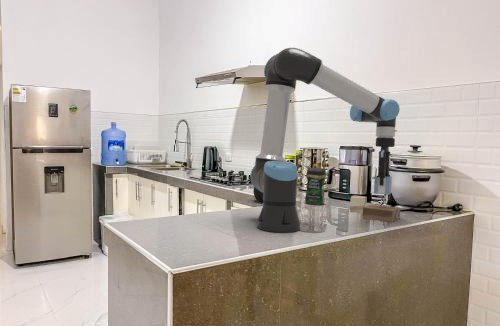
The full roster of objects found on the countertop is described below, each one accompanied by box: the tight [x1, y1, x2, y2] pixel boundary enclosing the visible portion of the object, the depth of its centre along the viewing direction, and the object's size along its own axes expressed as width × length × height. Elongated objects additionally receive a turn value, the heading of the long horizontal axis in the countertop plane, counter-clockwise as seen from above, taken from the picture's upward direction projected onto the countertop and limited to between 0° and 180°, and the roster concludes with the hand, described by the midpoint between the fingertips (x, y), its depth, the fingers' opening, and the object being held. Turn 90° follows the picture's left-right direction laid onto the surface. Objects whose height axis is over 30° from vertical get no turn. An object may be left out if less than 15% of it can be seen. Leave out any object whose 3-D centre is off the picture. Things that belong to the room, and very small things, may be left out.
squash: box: [253, 186, 263, 203], centre depth 200 cm, size 14×15×15 cm
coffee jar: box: [304, 167, 327, 206], centre depth 199 cm, size 10×8×19 cm
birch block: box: [349, 195, 368, 214], centre depth 179 cm, size 6×6×7 cm
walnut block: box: [361, 204, 401, 223], centre depth 164 cm, size 12×12×5 cm
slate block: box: [373, 175, 393, 195], centre depth 163 cm, size 6×6×7 cm
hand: (382, 192), depth 163 cm, fingers closed on slate block, 6 cm apart
